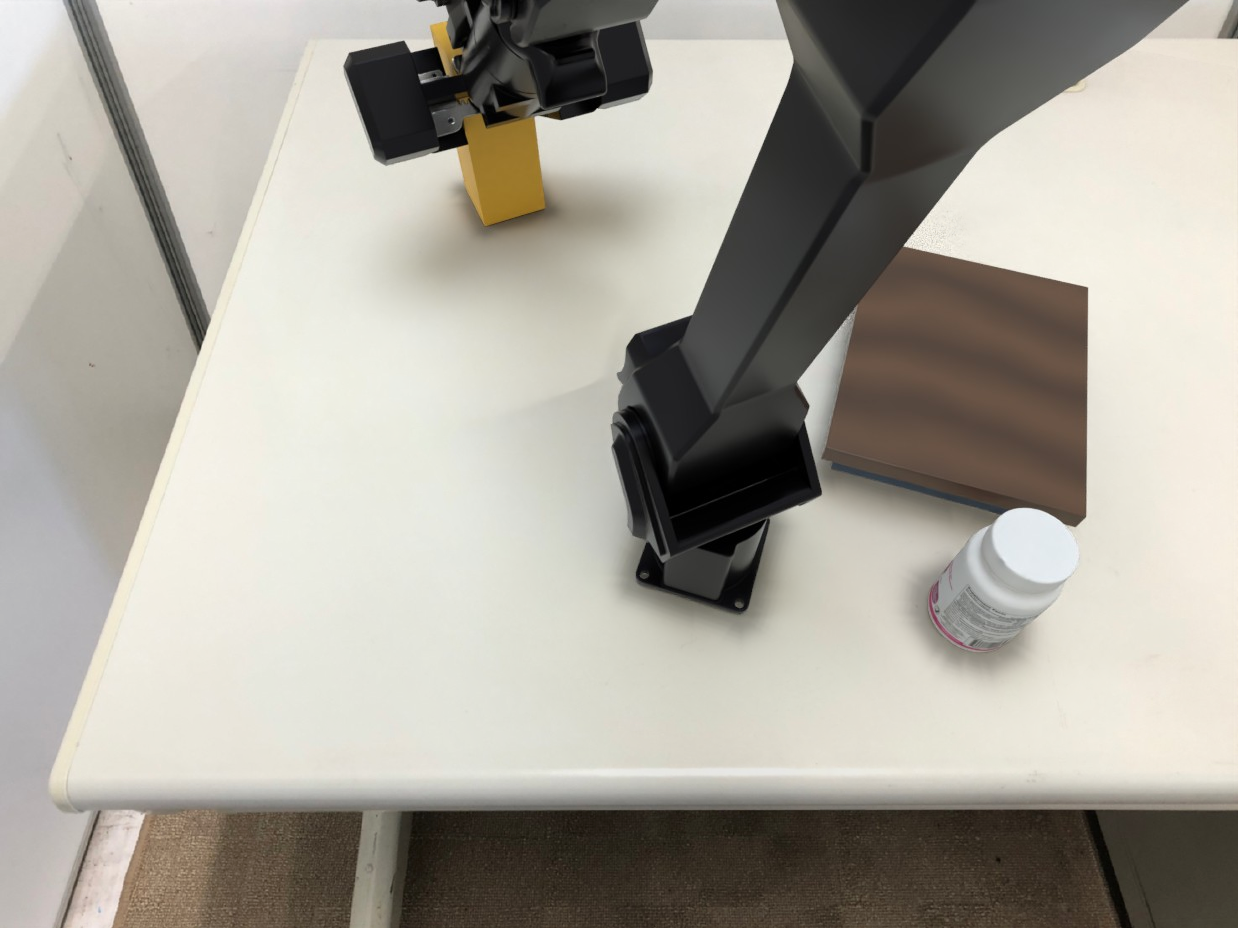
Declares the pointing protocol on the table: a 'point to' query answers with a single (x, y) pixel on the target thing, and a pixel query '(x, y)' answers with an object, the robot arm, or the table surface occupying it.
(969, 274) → the board
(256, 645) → the table surface
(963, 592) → the pill bottle
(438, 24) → the block
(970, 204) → the table surface
